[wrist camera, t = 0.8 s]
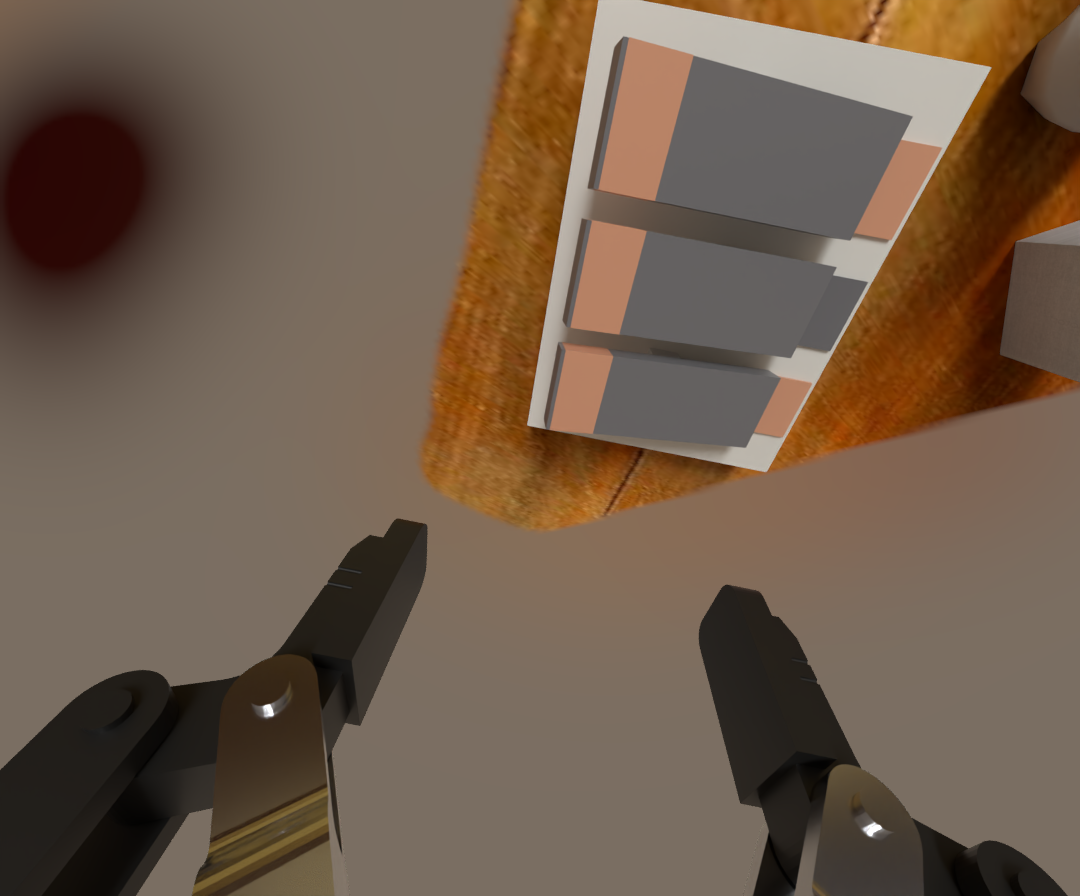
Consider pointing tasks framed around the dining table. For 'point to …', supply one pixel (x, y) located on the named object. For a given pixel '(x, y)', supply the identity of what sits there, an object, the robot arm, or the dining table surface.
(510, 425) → the dining table surface
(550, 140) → the dining table surface
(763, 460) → the switch box
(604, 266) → the switch
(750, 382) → the switch
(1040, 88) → the salt shaker
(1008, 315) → the white gabled box
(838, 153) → the switch
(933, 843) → the robot arm
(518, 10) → the dining table surface
